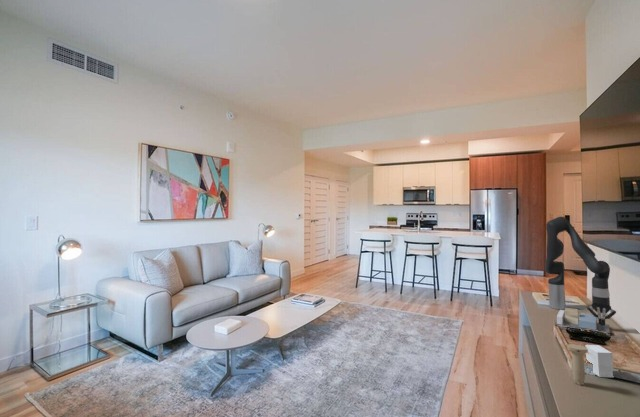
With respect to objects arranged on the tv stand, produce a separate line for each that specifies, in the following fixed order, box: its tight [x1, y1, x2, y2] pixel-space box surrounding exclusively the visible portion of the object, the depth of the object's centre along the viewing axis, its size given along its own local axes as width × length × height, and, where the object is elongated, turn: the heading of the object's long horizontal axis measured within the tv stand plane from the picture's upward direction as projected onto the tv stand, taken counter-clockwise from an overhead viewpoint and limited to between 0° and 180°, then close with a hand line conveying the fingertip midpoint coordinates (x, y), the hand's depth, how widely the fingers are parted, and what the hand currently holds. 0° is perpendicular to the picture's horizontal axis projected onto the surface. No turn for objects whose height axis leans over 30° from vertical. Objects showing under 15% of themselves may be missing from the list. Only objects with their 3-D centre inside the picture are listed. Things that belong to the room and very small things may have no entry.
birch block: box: [564, 307, 579, 324], centre depth 185 cm, size 4×6×8 cm, turn 47°
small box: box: [584, 344, 615, 378], centre depth 132 cm, size 8×6×10 cm
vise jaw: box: [578, 312, 598, 330], centre depth 180 cm, size 16×8×4 cm, turn 136°
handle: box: [566, 343, 588, 386], centre depth 125 cm, size 5×6×15 cm
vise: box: [554, 309, 610, 334], centre depth 182 cm, size 16×24×6 cm, turn 46°
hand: (602, 325), depth 176 cm, fingers closed
